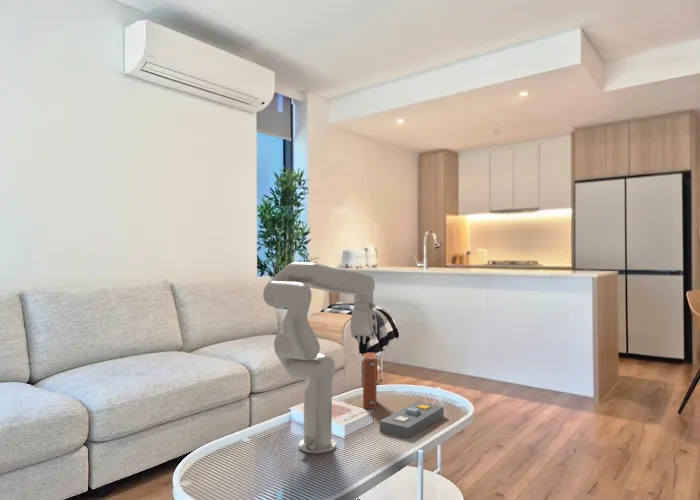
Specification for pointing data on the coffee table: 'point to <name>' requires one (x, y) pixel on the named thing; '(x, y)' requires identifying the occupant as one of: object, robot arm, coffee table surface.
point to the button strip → (411, 421)
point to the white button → (401, 419)
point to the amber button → (423, 407)
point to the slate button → (413, 411)
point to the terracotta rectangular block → (369, 379)
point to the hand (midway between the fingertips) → (363, 353)
